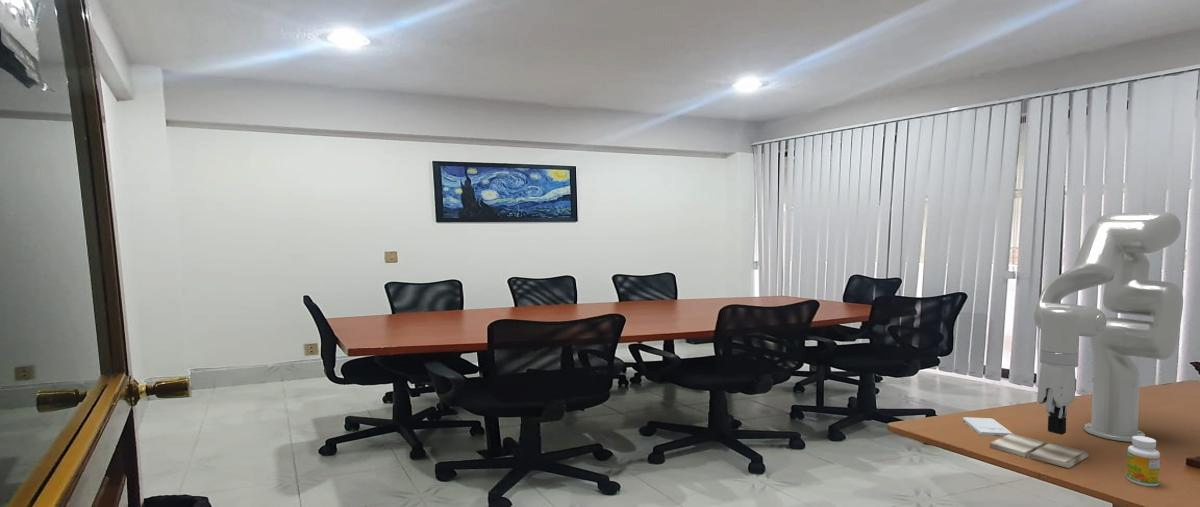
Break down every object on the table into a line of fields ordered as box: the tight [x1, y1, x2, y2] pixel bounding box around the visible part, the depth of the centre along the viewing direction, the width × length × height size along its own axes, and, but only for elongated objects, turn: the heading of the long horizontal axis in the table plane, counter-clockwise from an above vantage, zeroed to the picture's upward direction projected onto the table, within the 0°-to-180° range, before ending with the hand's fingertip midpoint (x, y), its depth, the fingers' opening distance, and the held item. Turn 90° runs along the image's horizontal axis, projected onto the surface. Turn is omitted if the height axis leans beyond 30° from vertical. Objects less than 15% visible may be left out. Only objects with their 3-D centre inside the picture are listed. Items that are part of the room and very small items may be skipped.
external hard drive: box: [962, 416, 1014, 437], centre depth 171 cm, size 2×8×12 cm
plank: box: [1029, 442, 1089, 469], centre depth 149 cm, size 12×8×1 cm, turn 124°
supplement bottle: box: [1126, 436, 1161, 487], centre depth 135 cm, size 5×5×10 cm
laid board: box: [989, 433, 1046, 459], centre depth 156 cm, size 12×9×1 cm
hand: (1056, 432), depth 149 cm, fingers closed
